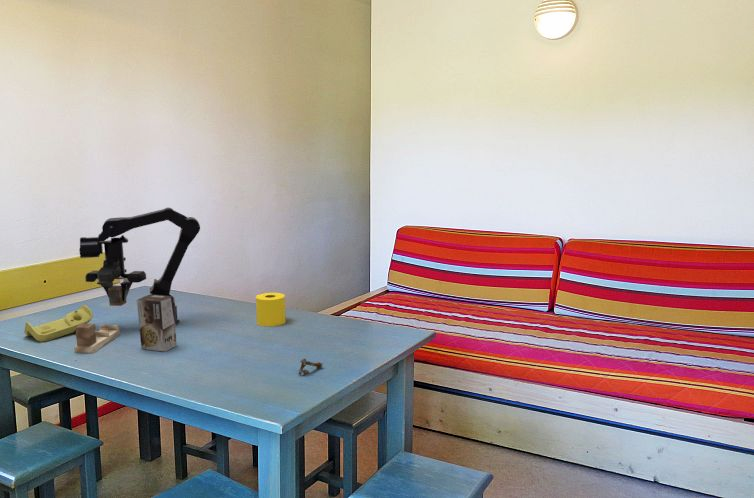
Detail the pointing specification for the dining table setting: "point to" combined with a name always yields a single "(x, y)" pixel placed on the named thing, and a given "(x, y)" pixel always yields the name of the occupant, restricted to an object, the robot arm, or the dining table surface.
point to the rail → (99, 342)
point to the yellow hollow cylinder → (270, 309)
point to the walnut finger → (116, 296)
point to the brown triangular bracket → (318, 365)
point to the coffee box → (157, 322)
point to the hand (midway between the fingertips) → (117, 301)
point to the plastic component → (59, 325)
